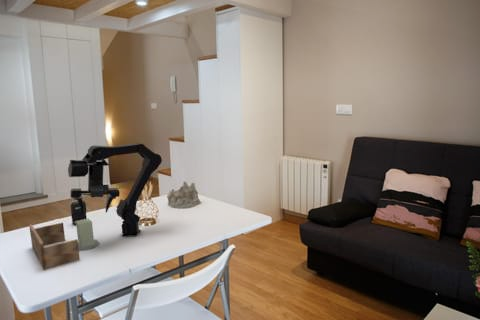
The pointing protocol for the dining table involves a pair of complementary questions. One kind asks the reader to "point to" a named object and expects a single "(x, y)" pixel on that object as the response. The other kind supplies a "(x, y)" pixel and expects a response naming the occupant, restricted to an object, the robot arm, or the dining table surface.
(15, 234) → the dining table surface
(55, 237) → the open box
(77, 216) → the battery charger
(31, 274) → the dining table surface
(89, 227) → the block
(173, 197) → the miniature castle
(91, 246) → the grey mat
